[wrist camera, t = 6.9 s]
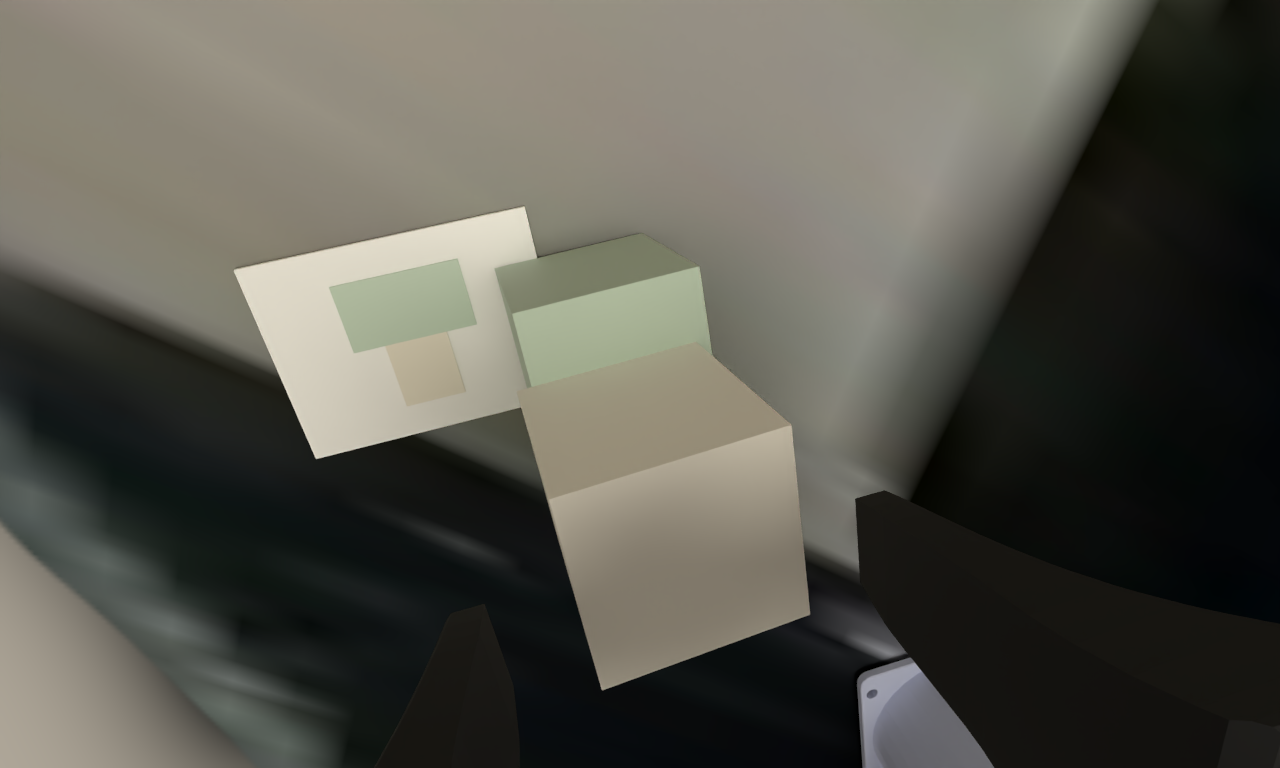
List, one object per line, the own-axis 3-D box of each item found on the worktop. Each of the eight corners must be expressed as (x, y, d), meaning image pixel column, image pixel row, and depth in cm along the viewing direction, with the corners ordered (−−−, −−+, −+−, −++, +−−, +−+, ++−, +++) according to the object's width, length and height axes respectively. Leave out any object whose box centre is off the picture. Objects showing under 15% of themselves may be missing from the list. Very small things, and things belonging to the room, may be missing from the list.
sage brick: (686, 483, 24) (742, 566, 20) (563, 521, 23) (593, 617, 19) (641, 232, 21) (699, 266, 16) (494, 268, 20) (512, 314, 15)
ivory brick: (719, 493, 19) (810, 614, 14) (559, 545, 18) (602, 690, 13) (695, 341, 17) (791, 424, 12) (516, 391, 16) (548, 500, 11)
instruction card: (570, 392, 22) (571, 395, 22) (317, 456, 21) (315, 460, 21) (524, 206, 20) (524, 207, 19) (235, 268, 19) (232, 270, 18)
